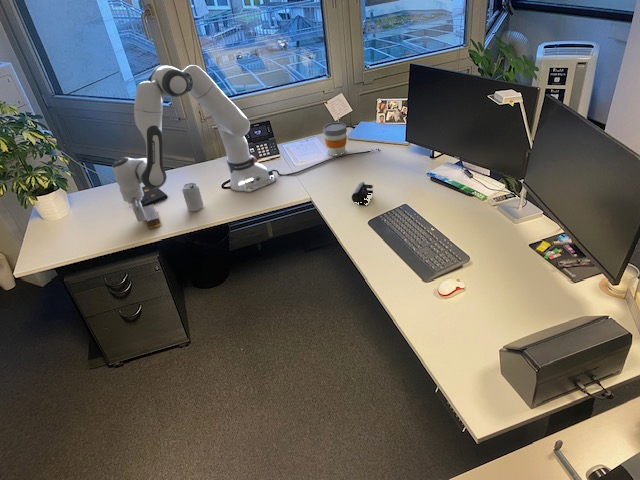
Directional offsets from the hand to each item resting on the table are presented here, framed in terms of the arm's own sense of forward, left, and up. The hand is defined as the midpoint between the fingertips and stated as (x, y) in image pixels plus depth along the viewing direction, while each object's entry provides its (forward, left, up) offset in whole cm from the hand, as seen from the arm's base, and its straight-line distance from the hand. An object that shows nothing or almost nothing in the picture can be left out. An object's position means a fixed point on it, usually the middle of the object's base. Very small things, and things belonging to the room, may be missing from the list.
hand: (142, 220), depth 210 cm
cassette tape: (-6, -25, -2) cm, 26 cm away
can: (-24, 0, -2) cm, 24 cm away
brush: (-4, 0, -2) cm, 5 cm away
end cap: (-93, +38, -2) cm, 100 cm away
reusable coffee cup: (-106, -14, -2) cm, 107 cm away
